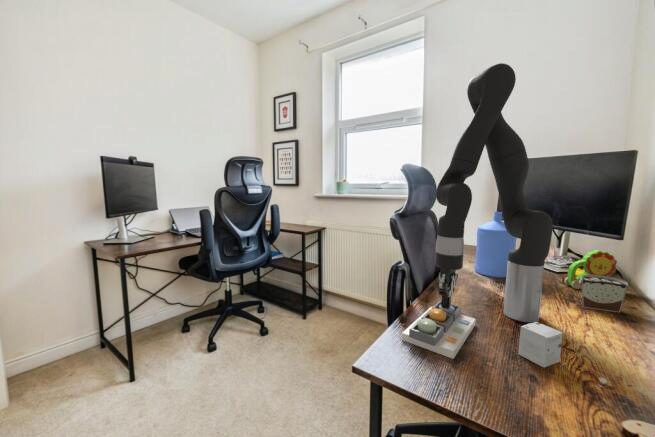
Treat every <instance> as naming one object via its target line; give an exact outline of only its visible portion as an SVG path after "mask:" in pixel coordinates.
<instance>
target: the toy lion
mask: <svg viewBox="0 0 655 437" xmlns="http://www.w3.org/2000/svg"><path fill="white" fill-rule="evenodd" d="M617 264H618V262H617V259H616V258H615V256H614V254H611V253H609V252H608V251H605V250H604V251H603V250H599V249H594V250H592V251H589V252H587V253H586V254H585V255H584V256H582V258H581V259H579V260H576V261H573V263H571V264H570V265H569V267H568V271H567V277H565V278H564V284H565V285H567V286H569V287H572V288H573V289H575V290H582V284H581V283H579V281H580V278H581V277H582V276H583V275H599V276H606V277H611V276H612V275H613V274H614V272H615V271H617ZM580 267H583V269H584V272H583V273H582V272H581V273H580V274H578V275H577V276H576V273H577V270H578V268H580Z"/></svg>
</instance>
